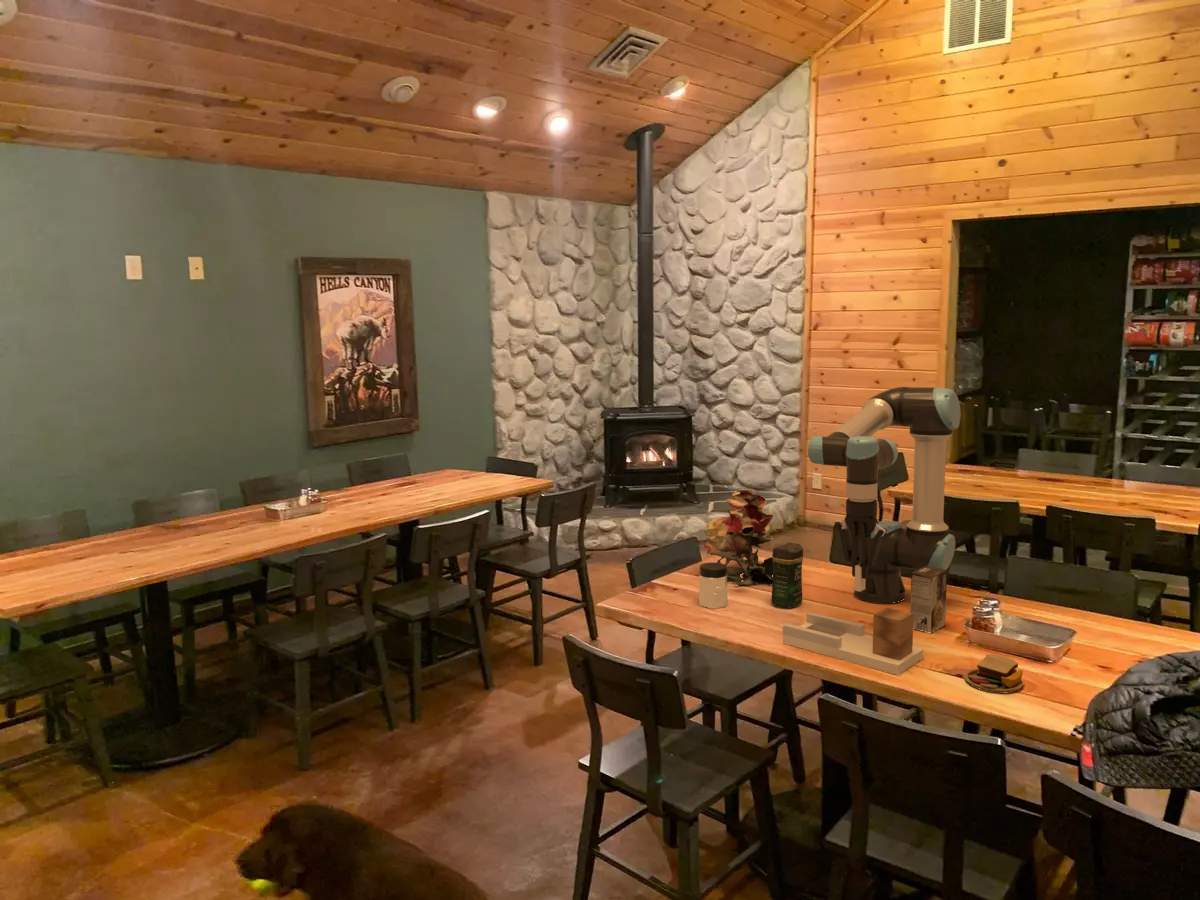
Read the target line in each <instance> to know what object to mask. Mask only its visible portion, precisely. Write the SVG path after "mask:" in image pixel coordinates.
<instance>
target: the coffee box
mask: <svg viewBox="0 0 1200 900" xmlns="http://www.w3.org/2000/svg"><path fill="white" fill-rule="evenodd" d="M910 574H911V575H910V576H911V577H910V578H911V581H910V608H909V609H910V611H909V613H913V628H914V629H918V630H923V631H926V632H933V631H935V630H937V629H938V630H940V629H941V628H943V627H945V626H946V617H947V616H946V614H947V613H946V611H947V610H946V608H947V580H948V579H947V575H948V571H947V569H946V570H944V569H939V568H935V567H930V566H924V567H922V568H920V569H918V570H914V571H912V572H911V573H910ZM944 625H945V626H944ZM942 626H943V627H942ZM940 627H941V628H940ZM939 628H940V629H939ZM938 630H937V631H938ZM935 632H936V631H935ZM933 633H934V632H933Z"/></svg>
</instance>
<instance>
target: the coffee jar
mask: <svg viewBox="0 0 1200 900" xmlns="http://www.w3.org/2000/svg"><path fill="white" fill-rule="evenodd" d="M771 557H772V559H773V580H772V585H771V586H772V587H771V600H770V601H771V604H772V605H773V606H775V607H777V608H780V607H781V608H782V609H784V608H787V609H792V608H795V607H797V606H799V605H801V604H802V602H803V580H802V579H803V574H802V572H803V571H802V569H803V559H804V548H803V546H802V545H801V544H799V543H794V542H787V543H784V544H781V545H779V546H776V547H773V548H772V555H771ZM781 608H780V609H781Z"/></svg>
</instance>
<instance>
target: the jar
mask: <svg viewBox="0 0 1200 900" xmlns="http://www.w3.org/2000/svg"><path fill="white" fill-rule="evenodd" d="M727 567H728V565H727V566H726V565H725V563H717V562H705V563H702V564H700V565H699V576H698V584H699V585H698V588H699V589H698V592H699V593H698V599H699V600H698V601H699V602H698V603H699V604H698V605H699V606H700V607H703V606H704V607H703V608H706V607H707V608H706V609H710V608H714V609H720V608H721V609H722V608H723V609H725V608H726V606H727V604H728V582H727Z"/></svg>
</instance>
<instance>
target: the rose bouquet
mask: <svg viewBox="0 0 1200 900" xmlns="http://www.w3.org/2000/svg"><path fill="white" fill-rule="evenodd" d="M726 502H727V504H728V505H729V506H730V508H731V509H727V511H728V512H727V513H728V515H729V516H719V517H715V518H714V519H712V520H711V521H710V522H709V523H708V524H706V525H705V529H706V531H705V534H707V535H705V538H707V539H709V540H708V541H706V543H705V544H704V545H703V547H704V548H705V549H708V550H707V551H706V554H707V555H710V556H717V557H720V558H719V559H718V560H717V561H716V563H721V562H722V560H723V559H726V560H725V563H724V565H726V566H727V583H728V582H732V583H733V584H735V583H736V584H735V585H738V587H740V586H742V585H747V586H748V585H749V586H760V585H759V584H760V582H756V581H754V580H752V578H753V576H754V575H758V576H759V577H762V578H767V579H769V580H772V581H773V577H772V575H773V559H772V556H770V557H768V558H765V559H764V560H763V562H760V563H759V555H758V553H759V549H763V546H760V545H763V544H765V543H768V542H770V541H775V540H776V539H774V538H773V536H771V535H770V532H771V526H772V525H771V521H772V520H773V517H774V514H767V513H765V511H766V508H764V506H765V505H766V504H767V503H768V502H767V500H766V497H765V496H762V495H759V494H758V493H755V492H754V490H751V489H748V488H747V489H746V488H744V489H743V488H742V489H740V490H737V489H736V490H734V492H732V494H731V497H729V498H727V499H726ZM775 531H782V529H781V528H775ZM753 547H756V548H757V549H756V550H755V552H753V551H754V550H753ZM731 561H734V562H736V563H737V564H738V566H728V565H729V563H730V562H731ZM721 564H722V563H721ZM742 573H745V574H744V575H745V577H744V578H747V579H745V580H744V578H741V577H740V574H742ZM742 580H744V582H741V581H742ZM757 584H758V585H757ZM769 586H772V584H771V583H770V584H769ZM738 587H737V588H738Z"/></svg>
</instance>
